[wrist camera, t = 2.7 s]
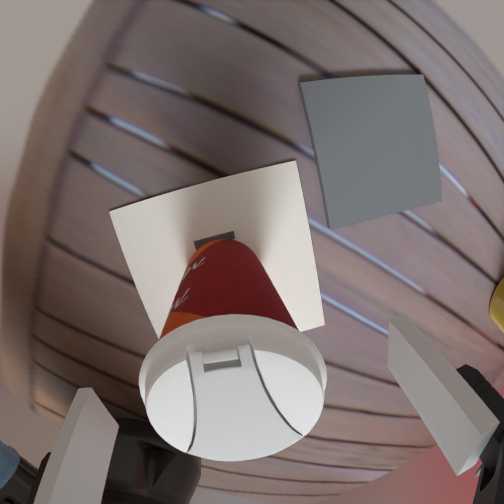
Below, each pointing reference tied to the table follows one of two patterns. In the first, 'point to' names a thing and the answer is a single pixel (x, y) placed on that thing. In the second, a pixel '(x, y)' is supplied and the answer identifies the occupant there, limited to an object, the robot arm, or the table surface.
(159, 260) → the tile
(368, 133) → the slate coaster
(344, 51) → the table surface
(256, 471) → the table surface
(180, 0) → the table surface
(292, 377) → the paper cup
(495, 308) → the plant pot
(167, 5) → the table surface
